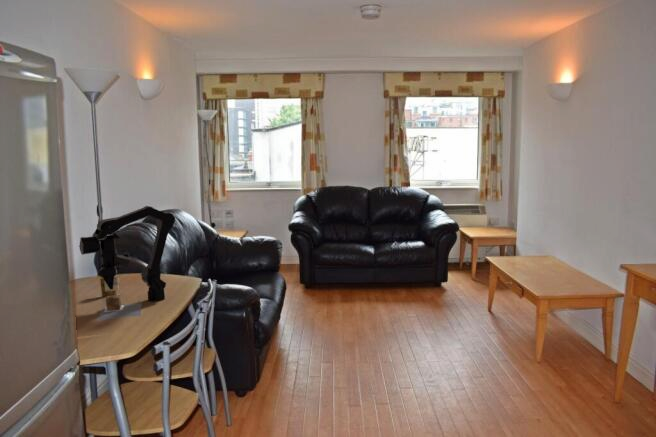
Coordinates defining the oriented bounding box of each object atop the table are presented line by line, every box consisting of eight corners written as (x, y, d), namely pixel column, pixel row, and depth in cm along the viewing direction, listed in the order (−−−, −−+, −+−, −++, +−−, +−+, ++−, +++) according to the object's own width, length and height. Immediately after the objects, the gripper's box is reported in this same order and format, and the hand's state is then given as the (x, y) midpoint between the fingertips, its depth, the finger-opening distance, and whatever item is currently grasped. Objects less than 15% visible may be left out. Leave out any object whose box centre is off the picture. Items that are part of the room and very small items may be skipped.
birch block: (106, 288, 226) (105, 276, 225) (119, 286, 228) (118, 275, 227) (105, 291, 221) (104, 279, 221) (118, 290, 223) (117, 278, 222)
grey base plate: (142, 304, 233) (142, 302, 232) (140, 317, 215) (140, 315, 215) (102, 309, 228) (102, 307, 228) (96, 322, 211) (96, 320, 211)
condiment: (107, 299, 243) (105, 272, 241) (95, 296, 247) (92, 271, 245) (121, 294, 249) (118, 269, 248) (108, 292, 254) (106, 267, 252)
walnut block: (121, 306, 229) (119, 294, 228) (120, 309, 224) (118, 297, 223) (108, 307, 227) (107, 295, 227) (107, 311, 223) (105, 299, 222)
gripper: (127, 253, 215) (131, 291, 218) (130, 244, 233) (134, 279, 235) (97, 255, 212) (101, 294, 215) (103, 247, 230) (106, 282, 232)
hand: (112, 287), depth 224 cm, fingers closed on birch block, 5 cm apart
